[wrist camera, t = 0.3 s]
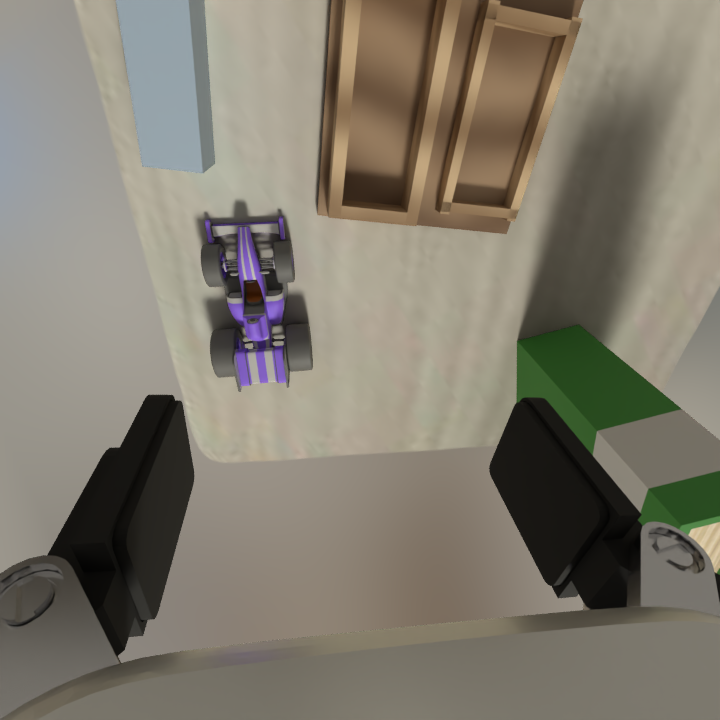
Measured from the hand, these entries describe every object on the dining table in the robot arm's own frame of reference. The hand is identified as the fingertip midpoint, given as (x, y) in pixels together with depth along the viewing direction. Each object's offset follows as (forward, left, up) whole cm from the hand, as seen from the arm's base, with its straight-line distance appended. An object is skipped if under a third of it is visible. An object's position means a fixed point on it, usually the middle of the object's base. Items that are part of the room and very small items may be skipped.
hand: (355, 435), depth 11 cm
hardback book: (+20, +31, -29) cm, 47 cm away
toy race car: (+9, -5, -29) cm, 31 cm away
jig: (-8, +9, -29) cm, 31 cm away
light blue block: (-7, -10, -29) cm, 31 cm away
